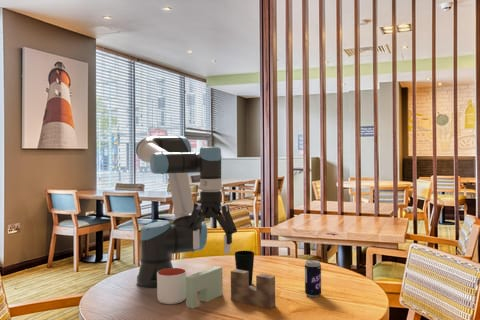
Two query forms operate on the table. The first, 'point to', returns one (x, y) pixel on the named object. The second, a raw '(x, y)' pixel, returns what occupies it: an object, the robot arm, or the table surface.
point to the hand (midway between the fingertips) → (211, 250)
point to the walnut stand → (253, 289)
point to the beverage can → (313, 278)
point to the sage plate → (204, 286)
